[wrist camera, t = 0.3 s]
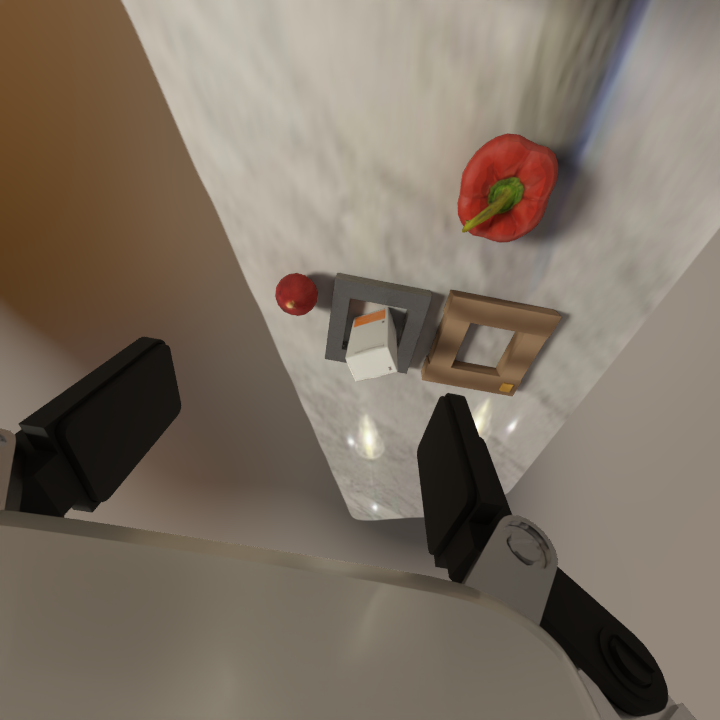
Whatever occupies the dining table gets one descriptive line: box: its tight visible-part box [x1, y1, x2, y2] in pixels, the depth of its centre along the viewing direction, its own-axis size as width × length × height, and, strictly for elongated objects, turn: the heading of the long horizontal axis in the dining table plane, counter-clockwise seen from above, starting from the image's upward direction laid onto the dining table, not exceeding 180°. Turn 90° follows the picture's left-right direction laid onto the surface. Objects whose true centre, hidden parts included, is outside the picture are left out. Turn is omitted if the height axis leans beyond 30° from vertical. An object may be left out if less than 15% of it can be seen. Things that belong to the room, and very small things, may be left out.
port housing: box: [421, 290, 562, 396], centre depth 48 cm, size 16×16×3 cm
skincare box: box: [345, 308, 398, 382], centre depth 43 cm, size 6×4×12 cm
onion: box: [275, 273, 318, 316], centre depth 42 cm, size 6×6×8 cm
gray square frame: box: [325, 273, 432, 374], centre depth 47 cm, size 14×14×2 cm
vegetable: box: [458, 134, 558, 242], centre depth 33 cm, size 11×10×10 cm
